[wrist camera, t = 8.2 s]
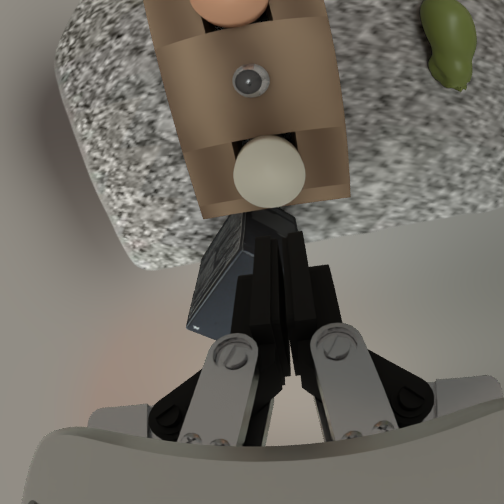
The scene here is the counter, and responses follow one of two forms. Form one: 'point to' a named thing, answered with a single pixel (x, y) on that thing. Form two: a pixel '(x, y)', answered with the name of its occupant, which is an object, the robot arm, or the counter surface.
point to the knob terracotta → (230, 11)
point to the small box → (232, 267)
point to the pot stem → (251, 80)
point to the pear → (449, 41)
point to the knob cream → (269, 171)
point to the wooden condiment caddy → (256, 108)
